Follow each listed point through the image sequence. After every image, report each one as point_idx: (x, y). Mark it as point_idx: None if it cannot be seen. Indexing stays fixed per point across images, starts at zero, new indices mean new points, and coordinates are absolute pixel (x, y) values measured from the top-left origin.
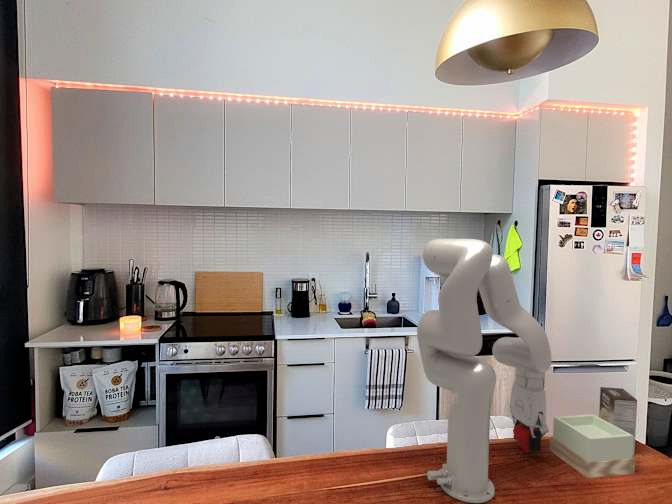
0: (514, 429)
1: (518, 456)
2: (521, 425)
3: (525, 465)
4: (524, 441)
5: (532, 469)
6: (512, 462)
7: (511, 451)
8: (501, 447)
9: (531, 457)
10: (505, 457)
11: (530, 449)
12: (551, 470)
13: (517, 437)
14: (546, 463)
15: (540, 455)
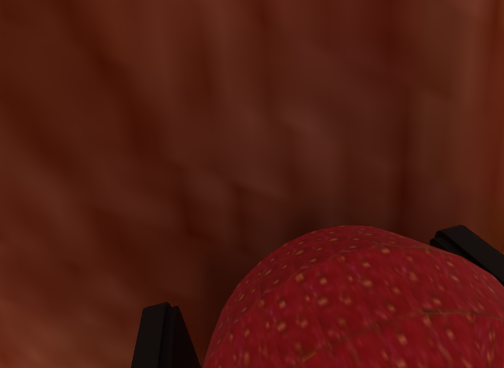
0: (419, 298)
1: (247, 175)
2: None
3: (80, 182)
4: (217, 322)
5: (17, 221)
6: (114, 68)
7: (340, 141)
8: (421, 63)
9: None
10: (213, 27)
11: (140, 323)
12: (45, 361)
13: (284, 259)
14: None
15: None
